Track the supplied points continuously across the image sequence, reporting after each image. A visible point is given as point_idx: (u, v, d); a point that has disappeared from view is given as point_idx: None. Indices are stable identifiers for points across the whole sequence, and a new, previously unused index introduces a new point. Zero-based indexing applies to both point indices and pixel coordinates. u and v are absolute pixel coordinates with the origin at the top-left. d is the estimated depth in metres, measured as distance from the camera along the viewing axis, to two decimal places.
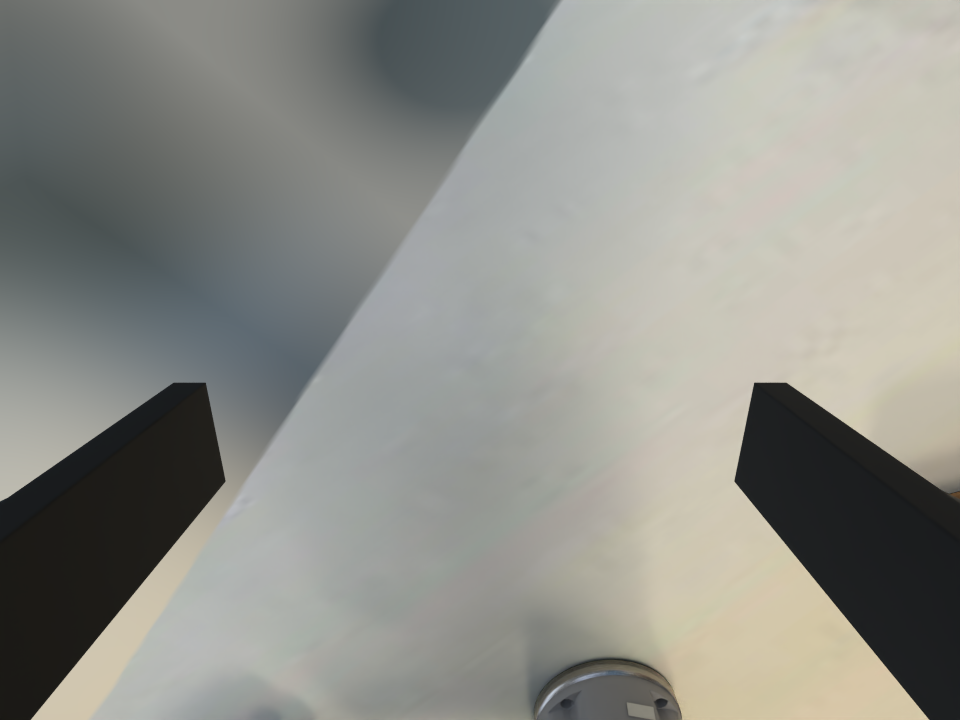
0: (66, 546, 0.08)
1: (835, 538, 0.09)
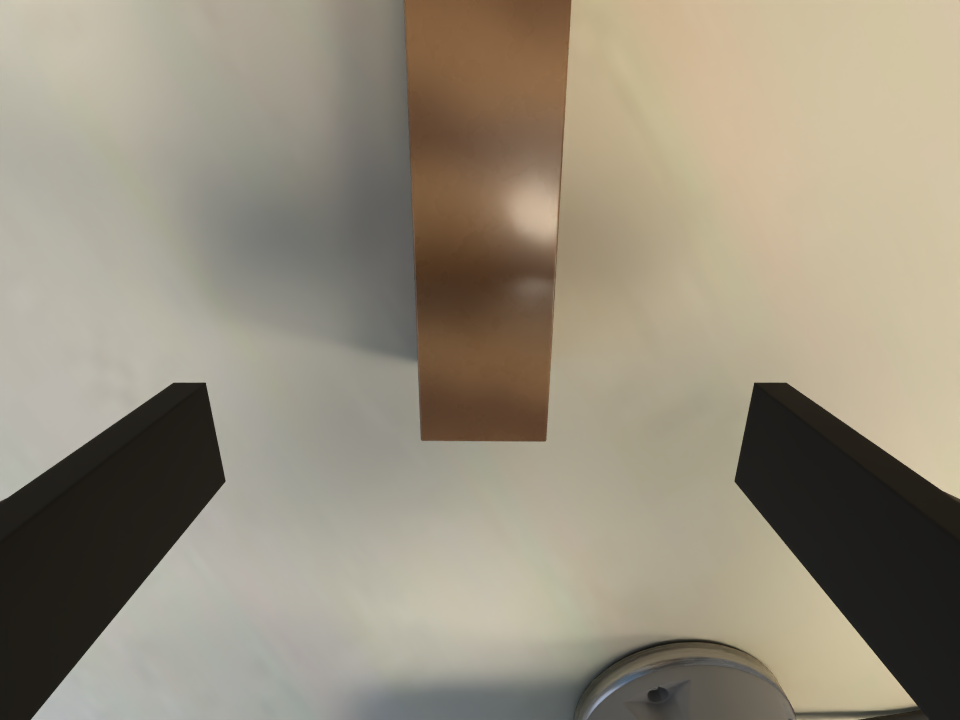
0: (65, 546, 0.08)
1: (835, 538, 0.09)
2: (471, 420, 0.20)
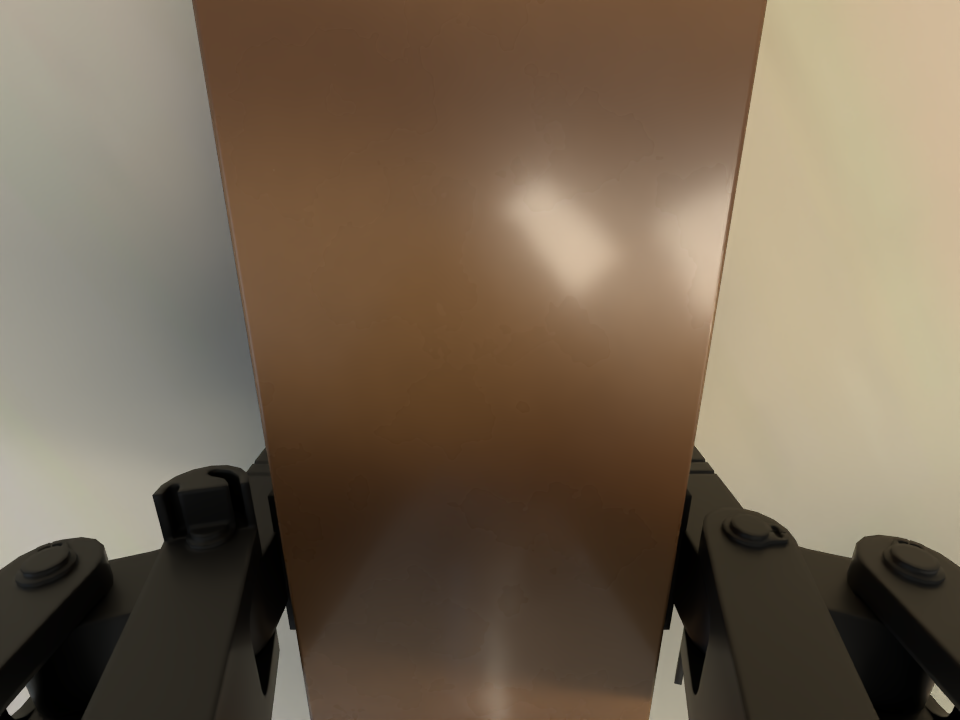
0: None
1: None
2: None
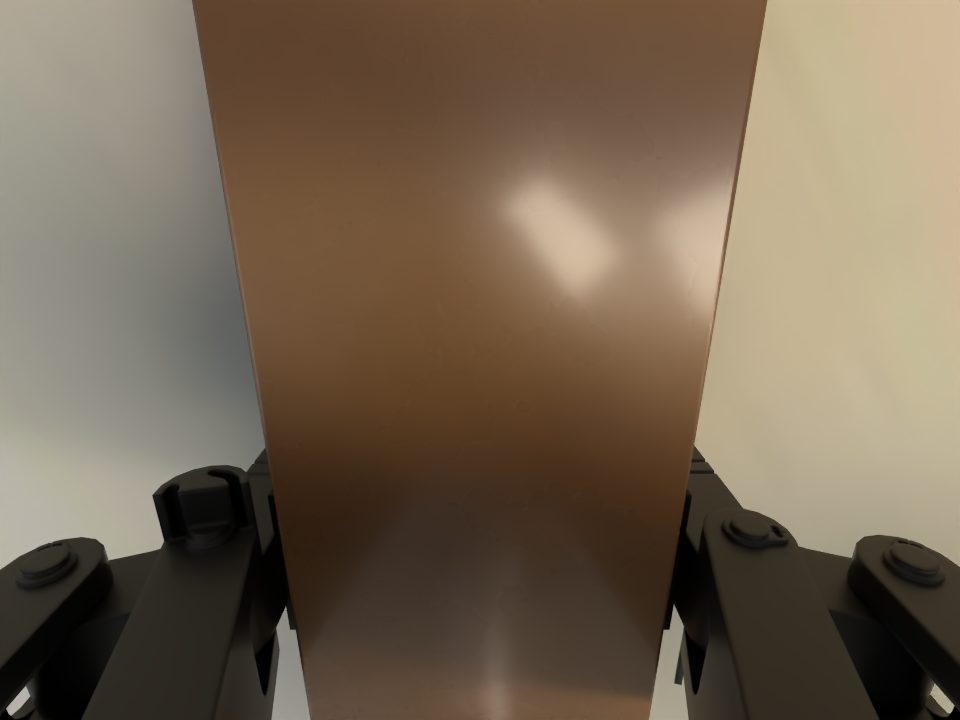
0: None
1: None
2: None
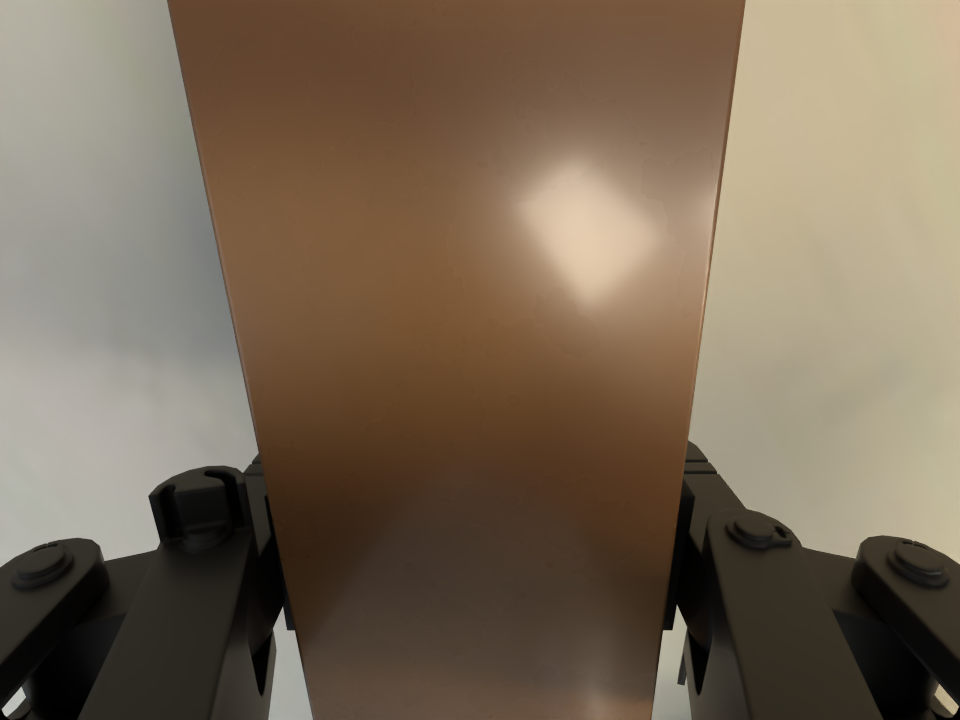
0: None
1: None
2: None
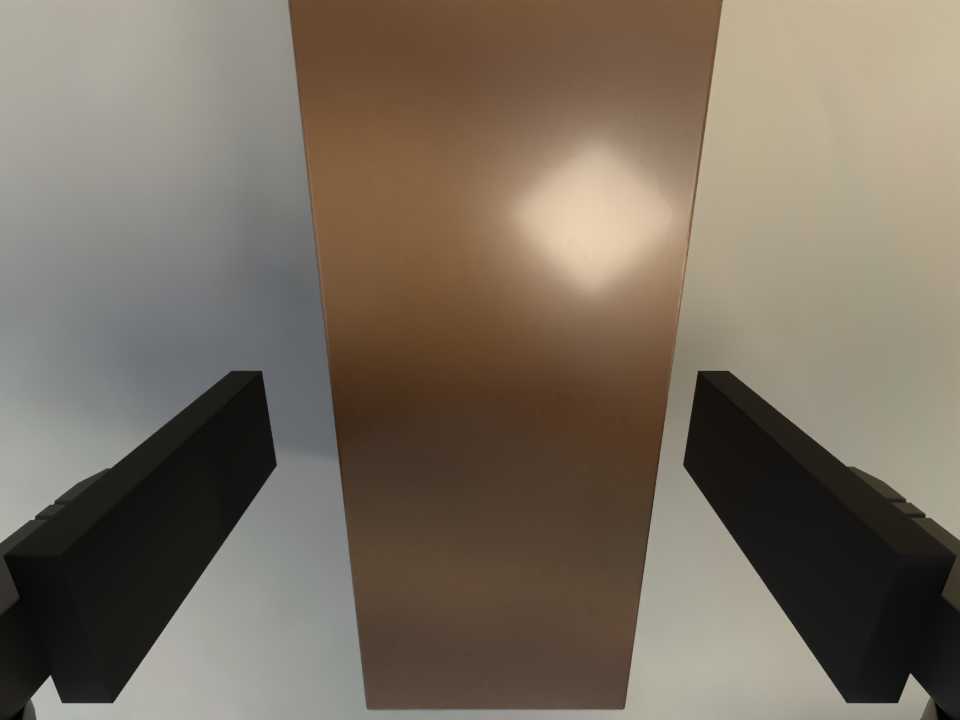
0: (160, 516, 0.09)
1: (758, 512, 0.10)
2: (470, 677, 0.10)
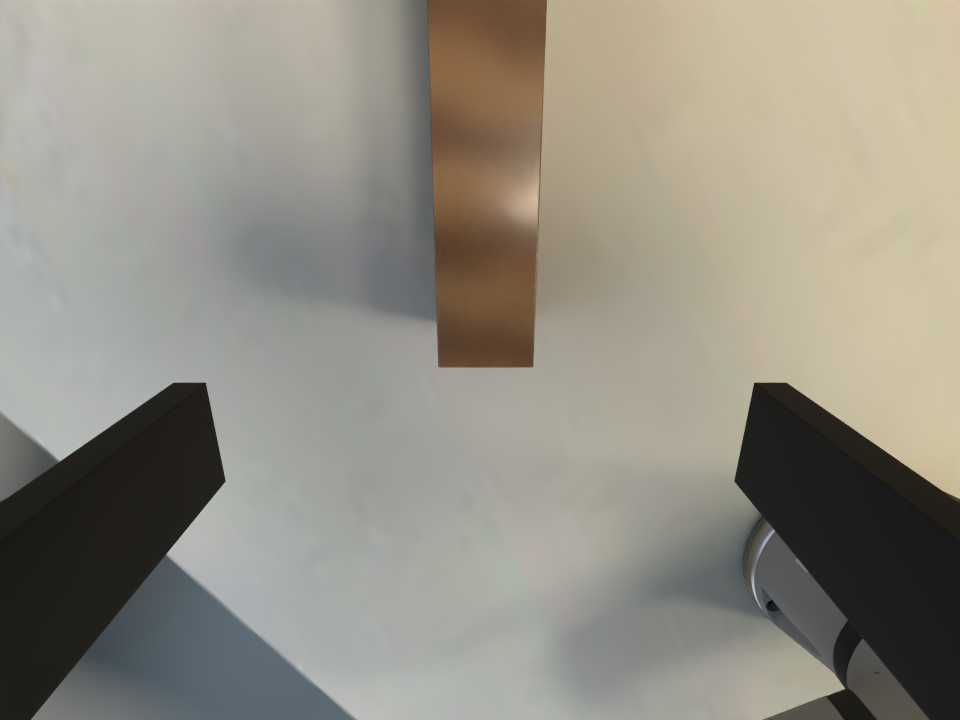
0: (65, 546, 0.08)
1: (835, 538, 0.09)
2: (476, 351, 0.27)
